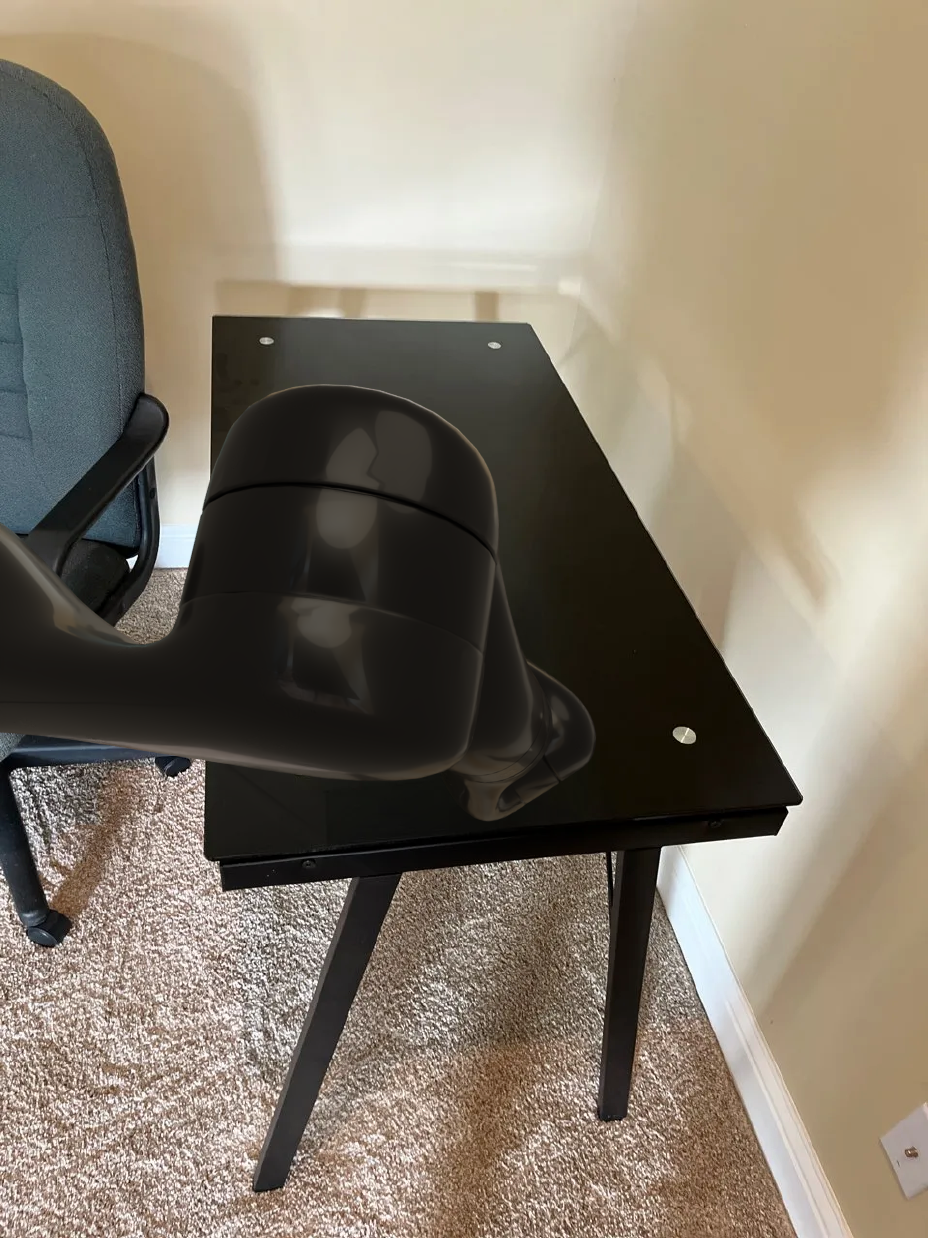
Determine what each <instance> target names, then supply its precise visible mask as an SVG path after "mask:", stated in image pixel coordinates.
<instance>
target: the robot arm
mask: <svg viewBox="0 0 928 1238" xmlns="http://www.w3.org/2000/svg"><path fill="white" fill-rule="evenodd" d="M201 510H202V511H201V514H200V517H199V521H198V525H197V529H196V532H195V537H194V542H193V546H192V550H191V554H190V559H189V562H188V567H187V572H186V575H185V580H184V583H183V587H182V590H181V591H182V592H181V596H180V600H179V605H178V612H177V616H176V619H175V622H174V624H173V627H172V629H171V630H170V632H169V633H168V634H167V635H166V636H164V637H162V638H160V639H159V640H156V641H153V642H149V643H148V642H147V643H139V642H138V641H136V640H134V639H133V638H131V637H129V636H128V635H126V634H124V632H121V631H120V630H118V629H117V628H116V627H115V626H113V625H112V624H110V623H109V622H107V621H106V620H105V619H104V618H102V617H101V616H99V615H98V614H97V613H95V612H94V611H93V610H92V609H91V608H90V607H89V606H88V605H86V603H84V602H83V601H82V599H80V598H79V596H77V594H76V593H74V591H73V590H72V589H71V588H70V587H69V586H68V585H67V583H65V582H64V580H63V579H62V578H61V577H60V576H59V575H58V574H57V573H56V572H55V570H54V569H53V568H52V567H51V566H50V565H49V564H48V563H47V562H46V560H44V559H43V558H42V557H41V556H40V555H39V554H38V553H37V552H36V551H35V550H33V549H32V547H30V546H29V545H28V543H26V542H25V541H24V540H23V539H22V538H21V537H19V536H18V535H17V533H15V532H14V531H13V530H12V529H10V528H9V527H8V526H6V524H4V523H2V522H1V521H0V734H16V735H26V736H27V735H29V736H41V737H48V738H56V739H63V740H72V741H78V742H79V741H80V742H85V743H93V744H98V745H105V746H111V747H116V748H117V747H119V748H123V749H130V750H137V751H144V752H149V753H156V754H162V755H169V756H174V757H180V758H185V759H187V758H188V759H192V760H198V761H206V762H210V763H211V762H212V763H216V764H217V763H218V764H223V765H229V766H235V767H236V766H237V767H243V768H249V769H256V770H261V771H269V772H275V773H281V774H287V775H297V776H303V777H304V776H305V777H312V778H321V779H327V780H343V781H356V782H397V781H408V780H417V779H424V778H428V777H430V776H433V775H436V774H440V777H441V779H442V782H443V784H444V786H445V788H446V789H447V791H448V793H449V795H450V797H451V798H452V800H454V801H455V803H456V804H457V805H458V806H459V807H460V809H462V810H463V811H464V812H465V813H466V814H467V815H470V816H471V817H472V818H474V819H476V820H479V821H482V822H494V821H498V820H502V819H504V818H506V817H509V816H510V815H513V814H514V813H515V812H517V811H519V810H520V809H522V808H523V807H525V806H526V805H527V804H529V803H530V802H532V801H534V800H535V799H537V798H538V797H540V796H541V795H544V794H545V793H546V792H548V791H549V790H551V789H552V788H554V787H556V786H557V785H559V784H560V783H561V782H563V781H565V780H566V779H568V778H570V777H571V776H573V775H574V774H576V773H577V772H579V771H580V770H581V769H583V768H584V767H585V766H586V765H587V764H588V763H589V762H590V761H591V760H592V758H593V756H594V754H595V750H596V746H597V732H596V726H595V723H594V719H593V718H592V715H591V714H590V712H589V710H588V708H587V707H586V706H585V704H584V702H582V700H581V699H580V698H579V697H578V696H577V695H576V694H575V693H574V692H573V691H572V690H571V689H569V688H568V687H567V686H566V685H565V684H564V683H562V682H561V681H560V680H559V679H557V678H555V676H553V675H551V674H550V673H548V672H547V671H546V670H544V669H543V668H541V667H540V666H539V665H537V664H536V663H535V662H533V661H532V660H531V659H529V658H528V657H527V656H526V655H525V653H524V650H523V647H522V645H521V641H520V639H519V636H518V633H517V629H516V626H515V623H514V619H513V615H512V611H511V607H510V603H509V598H508V594H507V590H506V584H505V580H504V575H503V570H502V563H501V558H500V557H501V556H500V544H501V543H500V541H501V539H500V538H501V537H500V518H499V517H500V516H499V507H498V496H497V491H496V486H495V481H494V478H493V476H492V473H491V471H490V469H489V467H488V465H487V462H486V461H485V459H484V457H483V456H482V455H481V453H480V451H479V450H478V449H477V448H476V446H475V445H474V444H473V443H472V442H471V441H470V440H469V439H468V438H467V437H466V436H465V435H464V434H463V433H462V432H461V431H460V430H459V429H458V428H457V427H456V426H455V425H453V424H452V423H450V422H449V421H447V420H446V419H444V418H443V417H442V416H441V415H439V414H438V413H436V412H435V411H433V410H431V409H429V408H427V407H425V406H423V405H421V404H419V403H417V402H414V401H412V400H411V399H409V398H405V397H402V396H399V395H396V394H393V393H390V392H386V391H383V390H380V389H375V388H368V387H364V386H363V387H362V386H357V385H349V384H348V385H347V384H330V383H329V384H328V383H327V384H326V383H325V384H306V385H299V386H293V387H289V388H285V389H282V390H278V391H275V392H271V393H270V394H268V395H266V396H264V397H263V398H261V399H259V400H257V401H255V402H254V403H252V404H250V405H249V406H248V407H247V408H246V409H245V410H244V411H243V413H241V414H240V416H239V417H238V418H237V419H236V420H235V421H234V422H233V424H232V425H231V427H230V428H229V430H228V432H227V435H226V437H225V439H224V441H223V444H222V446H221V449H220V452H219V454H218V456H217V458H216V461H215V464H214V466H213V469H212V472H211V475H210V477H209V480H208V485H207V487H206V492H205V496H204V500H203V504H202V508H201Z"/></svg>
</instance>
